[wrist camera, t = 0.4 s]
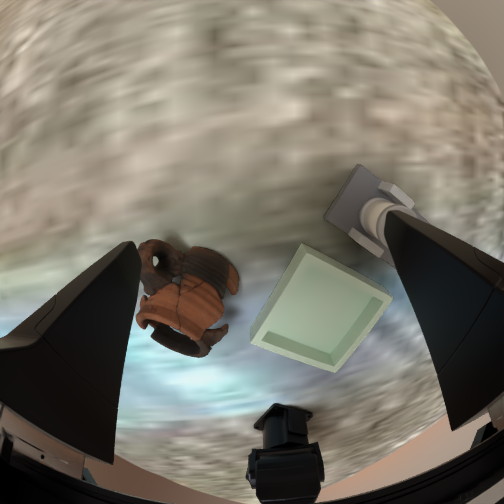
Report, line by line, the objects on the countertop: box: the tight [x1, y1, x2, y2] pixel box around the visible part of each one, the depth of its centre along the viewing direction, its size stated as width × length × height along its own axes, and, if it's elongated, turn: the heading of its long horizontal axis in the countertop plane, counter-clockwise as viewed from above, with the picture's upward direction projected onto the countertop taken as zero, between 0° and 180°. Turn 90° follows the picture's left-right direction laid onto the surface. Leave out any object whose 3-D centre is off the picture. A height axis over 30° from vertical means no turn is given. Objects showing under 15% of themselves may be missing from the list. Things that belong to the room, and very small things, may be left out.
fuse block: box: [324, 164, 431, 268], centre depth 24 cm, size 6×17×4 cm, turn 59°
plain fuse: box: [359, 197, 418, 248], centre depth 21 cm, size 4×4×5 cm
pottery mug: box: [136, 239, 239, 358], centre depth 25 cm, size 12×10×8 cm
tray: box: [250, 243, 394, 373], centre depth 27 cm, size 11×11×3 cm
